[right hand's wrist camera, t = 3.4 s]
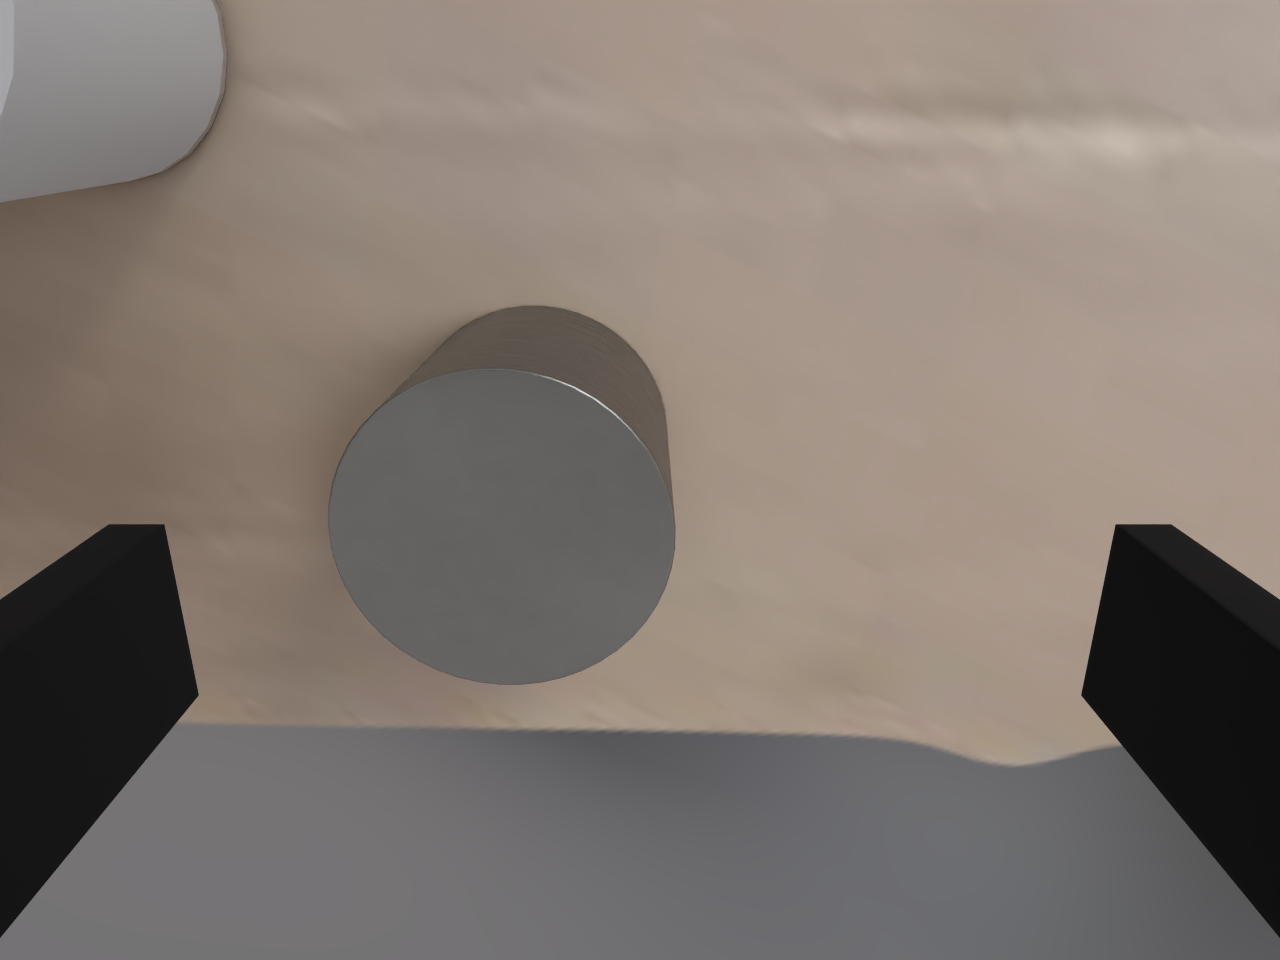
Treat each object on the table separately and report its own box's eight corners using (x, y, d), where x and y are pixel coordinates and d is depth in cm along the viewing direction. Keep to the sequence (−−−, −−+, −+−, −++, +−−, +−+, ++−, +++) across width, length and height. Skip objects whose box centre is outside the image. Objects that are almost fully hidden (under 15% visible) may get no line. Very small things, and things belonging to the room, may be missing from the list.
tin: (431, 555, 32) (360, 693, 24) (393, 313, 29) (295, 379, 21) (672, 542, 32) (683, 677, 24) (659, 297, 29) (666, 356, 21)
